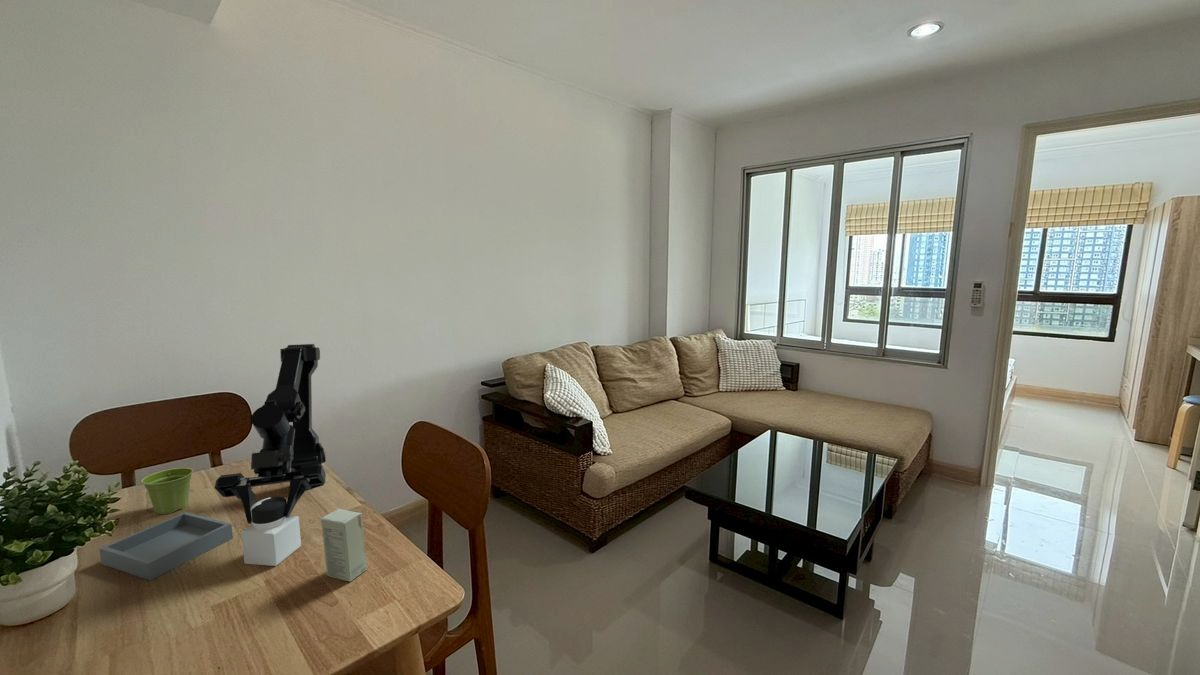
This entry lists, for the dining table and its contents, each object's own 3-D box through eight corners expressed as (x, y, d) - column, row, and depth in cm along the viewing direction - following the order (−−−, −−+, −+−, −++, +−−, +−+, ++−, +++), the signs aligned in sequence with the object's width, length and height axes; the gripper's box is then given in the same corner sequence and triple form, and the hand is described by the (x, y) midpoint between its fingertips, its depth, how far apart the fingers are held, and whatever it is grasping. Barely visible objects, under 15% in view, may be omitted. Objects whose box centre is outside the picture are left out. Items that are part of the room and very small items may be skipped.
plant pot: (156, 502, 118) (152, 470, 116) (203, 496, 121) (199, 464, 120) (137, 521, 109) (132, 486, 108) (188, 513, 113) (184, 480, 112)
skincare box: (368, 569, 93) (364, 512, 91) (350, 583, 89) (345, 523, 87) (343, 562, 95) (339, 506, 93) (324, 575, 91) (320, 517, 89)
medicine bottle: (302, 546, 100) (297, 494, 99) (276, 567, 93) (270, 511, 92) (271, 543, 101) (266, 492, 99) (243, 564, 94) (237, 509, 92)
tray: (187, 525, 108) (185, 511, 107) (232, 538, 103) (231, 523, 102) (101, 564, 93) (99, 548, 93) (150, 580, 89) (147, 563, 88)
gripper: (213, 438, 94) (195, 516, 85) (319, 427, 101) (313, 499, 92) (230, 460, 102) (217, 533, 93) (328, 449, 109) (323, 516, 100)
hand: (268, 520), depth 95 cm, fingers closed on medicine bottle, 6 cm apart
